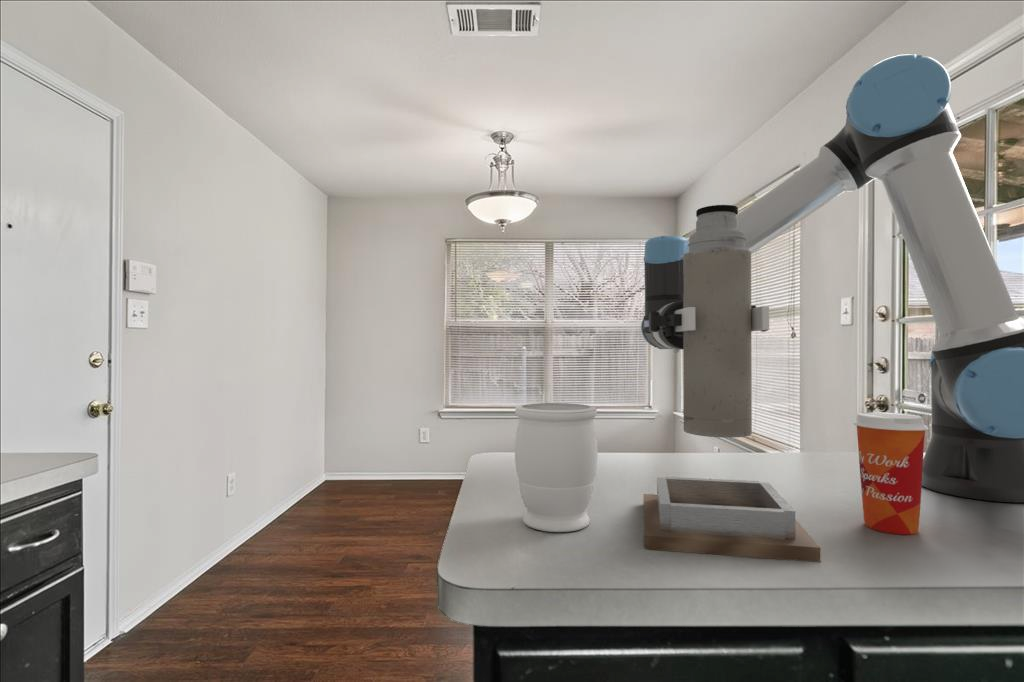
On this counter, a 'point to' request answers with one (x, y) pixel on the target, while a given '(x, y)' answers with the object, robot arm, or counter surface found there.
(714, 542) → the walnut dock board
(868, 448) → the paper cup
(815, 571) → the counter surface
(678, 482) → the steel collar
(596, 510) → the counter surface
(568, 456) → the jar
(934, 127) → the robot arm
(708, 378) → the thermos bottle
